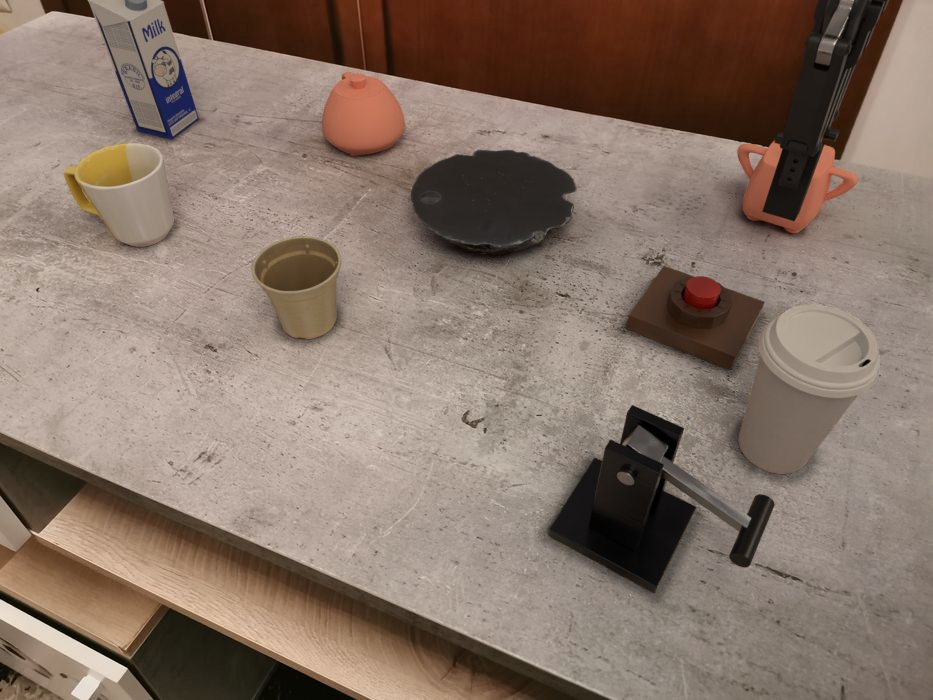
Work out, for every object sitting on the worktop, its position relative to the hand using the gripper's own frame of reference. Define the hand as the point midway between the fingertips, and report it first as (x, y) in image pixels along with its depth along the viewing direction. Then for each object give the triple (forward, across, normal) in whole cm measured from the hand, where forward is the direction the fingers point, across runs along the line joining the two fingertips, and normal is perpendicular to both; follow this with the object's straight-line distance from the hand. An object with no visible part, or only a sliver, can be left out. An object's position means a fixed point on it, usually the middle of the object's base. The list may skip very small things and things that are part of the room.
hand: (780, 212), depth 61 cm
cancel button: (+17, -7, -6) cm, 19 cm away
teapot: (+21, -33, -4) cm, 39 cm away
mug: (+21, +15, -74) cm, 78 cm away
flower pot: (+21, +16, -43) cm, 50 cm away
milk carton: (+20, -6, -92) cm, 94 cm away
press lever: (+13, +22, +2) cm, 25 cm away
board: (+21, -11, -35) cm, 42 cm away
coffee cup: (+21, +6, +7) cm, 23 cm away
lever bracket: (+21, +21, -2) cm, 30 cm away
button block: (+21, -7, -6) cm, 23 cm away
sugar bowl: (+20, -19, -63) cm, 68 cm away
